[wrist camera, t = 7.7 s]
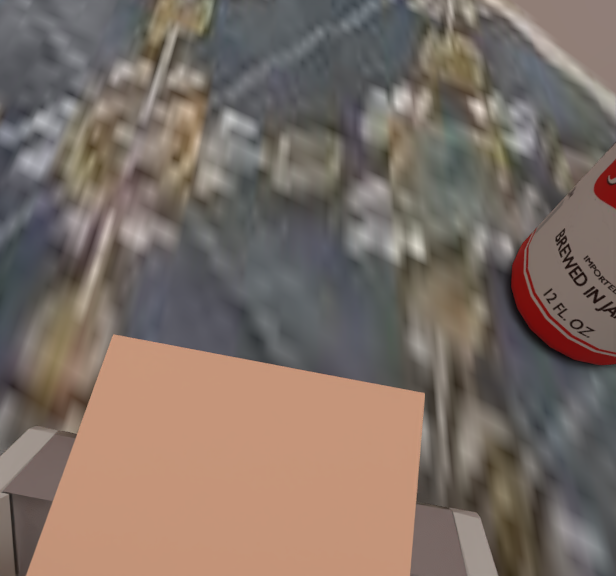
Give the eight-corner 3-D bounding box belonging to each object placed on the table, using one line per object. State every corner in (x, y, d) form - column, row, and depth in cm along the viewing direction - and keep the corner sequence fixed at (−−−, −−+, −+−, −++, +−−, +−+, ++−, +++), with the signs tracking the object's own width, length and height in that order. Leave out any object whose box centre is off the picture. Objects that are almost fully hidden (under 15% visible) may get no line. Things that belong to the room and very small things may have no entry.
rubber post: (322, 617, 16) (389, 823, 6) (170, 586, 16) (-31, 732, 6) (345, 455, 18) (424, 393, 8) (210, 429, 18) (113, 333, 8)
